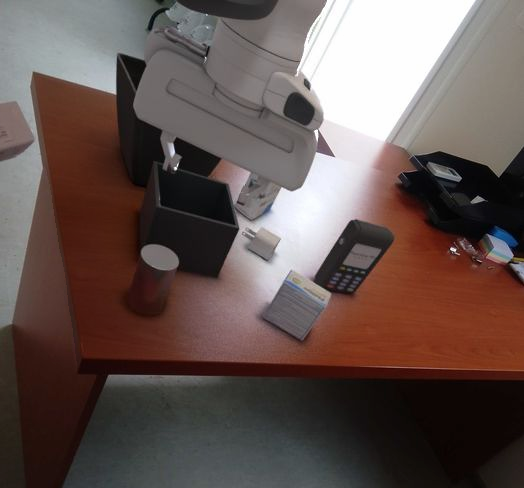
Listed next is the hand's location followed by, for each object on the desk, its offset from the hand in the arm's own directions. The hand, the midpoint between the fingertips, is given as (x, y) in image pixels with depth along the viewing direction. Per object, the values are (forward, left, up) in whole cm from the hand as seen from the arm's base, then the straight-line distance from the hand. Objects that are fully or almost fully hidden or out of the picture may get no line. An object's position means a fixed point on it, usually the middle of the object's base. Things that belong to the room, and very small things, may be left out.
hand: (206, 187), depth 55 cm
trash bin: (+3, +16, -21) cm, 26 cm away
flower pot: (0, +39, -21) cm, 44 cm away
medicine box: (+21, +1, -21) cm, 30 cm away
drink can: (-3, 0, -21) cm, 21 cm away
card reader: (+35, +14, -21) cm, 43 cm away
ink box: (+21, +35, -21) cm, 46 cm away
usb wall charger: (+19, +21, -21) cm, 35 cm away
